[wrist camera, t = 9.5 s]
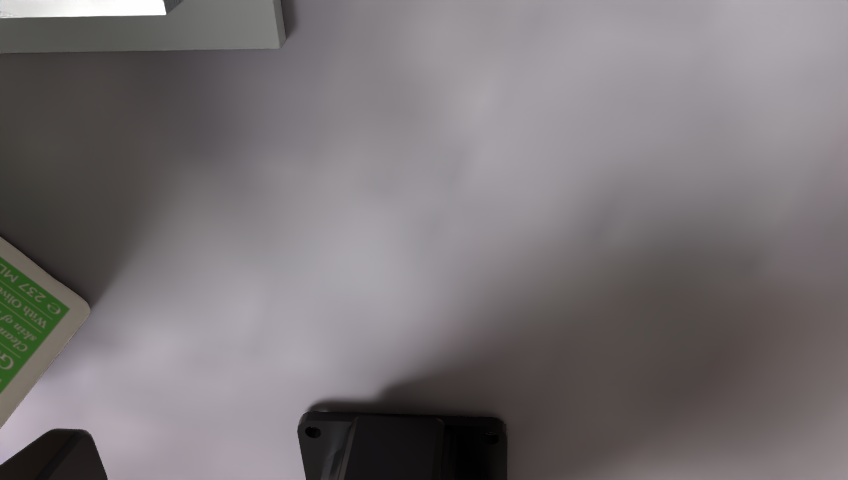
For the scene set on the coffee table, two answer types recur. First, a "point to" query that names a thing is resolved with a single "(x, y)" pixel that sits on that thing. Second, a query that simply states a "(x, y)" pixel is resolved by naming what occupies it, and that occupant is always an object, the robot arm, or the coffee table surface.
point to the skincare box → (31, 324)
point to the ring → (84, 8)
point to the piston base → (153, 29)
